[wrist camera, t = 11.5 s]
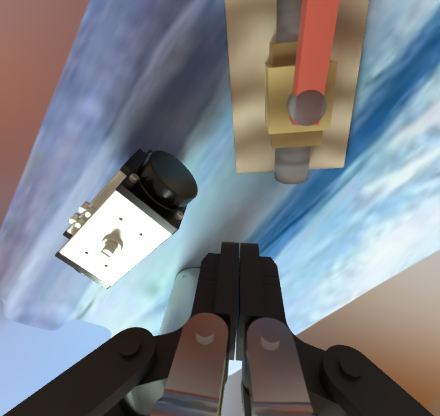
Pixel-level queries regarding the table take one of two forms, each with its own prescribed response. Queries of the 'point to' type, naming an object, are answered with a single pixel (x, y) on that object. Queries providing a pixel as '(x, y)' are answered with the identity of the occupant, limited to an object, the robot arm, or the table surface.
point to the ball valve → (129, 217)
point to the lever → (312, 61)
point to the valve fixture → (288, 88)
